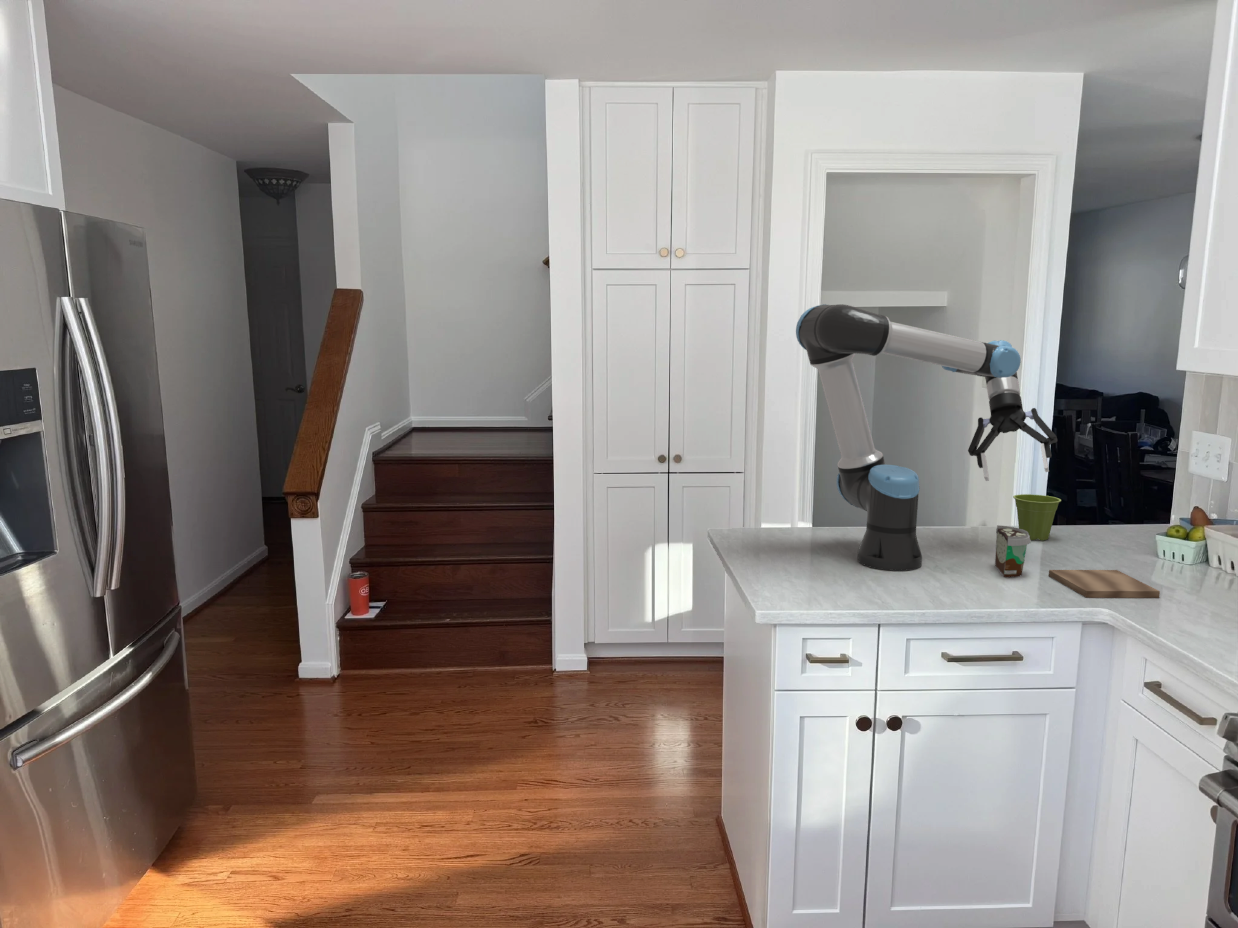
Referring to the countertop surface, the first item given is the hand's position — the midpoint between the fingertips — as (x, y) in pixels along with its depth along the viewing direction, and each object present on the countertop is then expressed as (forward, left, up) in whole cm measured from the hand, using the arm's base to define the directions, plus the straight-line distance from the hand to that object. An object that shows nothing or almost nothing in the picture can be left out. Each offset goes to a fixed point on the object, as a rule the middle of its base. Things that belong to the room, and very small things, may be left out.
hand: (1016, 474), depth 211 cm
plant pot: (+17, +23, -22) cm, 36 cm away
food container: (-4, -10, -22) cm, 25 cm away
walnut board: (+11, -21, -22) cm, 32 cm away
